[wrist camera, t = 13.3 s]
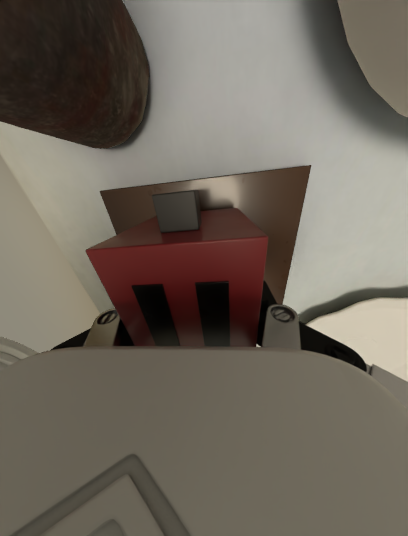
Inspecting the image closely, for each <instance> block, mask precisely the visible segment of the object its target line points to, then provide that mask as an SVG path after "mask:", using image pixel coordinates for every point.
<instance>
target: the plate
mask: <svg viewBox="0 0 408 536" xmlns="http://www.w3.org/2000/svg"><path fill="white" fill-rule="evenodd" d="M305 325H307V326H309V327H311V328H313V329H315V330H317V331H319V332H321V333H323V334H325V335H327V336H329V337H331V338H333V339H335V340H336V341H338V342H340V343H342V344H344V345H346V346H348V347H350V348H351V349H353V350H354V351H355V352H357V353H358V354H359V355H360V356H361V357H362V359H363V360H364V362H365V363H366V364H368V365H370V366H372V364H374V365H376V366H378V367H380V368H382V369H384V370H386V371H388V372H390V373H392V374H394V375H396V376H397V377H399V378H401V379H403V380H405V381H407V382H408V297H406V298H383V297H378V298H374V299H369V300H364V301H360V302H357V303H355V304H353V305H351V306H348V307H346V308H344V309H342V310H340V311H337V312H333V313H330V314H326V315H323V316H319V317H317V318H315V319H314V320H312V321H310V322H308V323H307V324H305Z"/></svg>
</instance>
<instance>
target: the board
mask: <svg viewBox="0 0 408 536" xmlns="http://www.w3.org/2000/svg"><path fill="white" fill-rule="evenodd" d="M310 169H311V165H309V166H301V167H293V168H284V169H276V170H268V171H260V172H252V173H243V174H235V175H227V176H219V177H211V178H202V179H194V180H186V181H178V182H170V183H162V184H153V185H145V186H137V187H129V188H121V189H112V190H104V191H100V193H101V196H102V199H103V201H104V204H105V206H106V209H107V211H108V214H109V216H110V219H111V221H112V224H113V227H114V229H115V232H116V234H117V235H118V234H120V233H122V232H124V231H126V230H128V229H130V228H132V227H134V226H137V225H139V224H141V223H143V222H145V221H147V220H149V219H151V218H153V217H155V216H156V212H155V208H154V204H153V200H152V195H154V194H163V193H171V192H180V191H189V190H198V192H199V201H200V211H208V210H219V209H229V208H238V209H239V210H240V211H241V212H242V213H243V214H244V215H246V216H247V217H248V218H249V219H250V220H251V221H252V222H253V223H254V224H255V225H256V226H257V227H258V228H260V229H261V230H262V231H263V232H264V233H265V234H266V235H267V236H268V245H267V254H266V263H265V272H264V281H266V283H267V285H268V287H269V289H270V291H271V292H272V294H273V296H274V298H275V300H276V302H277V304H283V299H284V294H285V289H286V284H287V280H288V275H289V270H290V265H291V260H292V256H293V251H294V246H295V241H296V236H297V231H298V227H299V222H300V217H301V212H302V207H303V203H304V198H305V193H306V188H307V183H308V178H309V174H310Z"/></svg>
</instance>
